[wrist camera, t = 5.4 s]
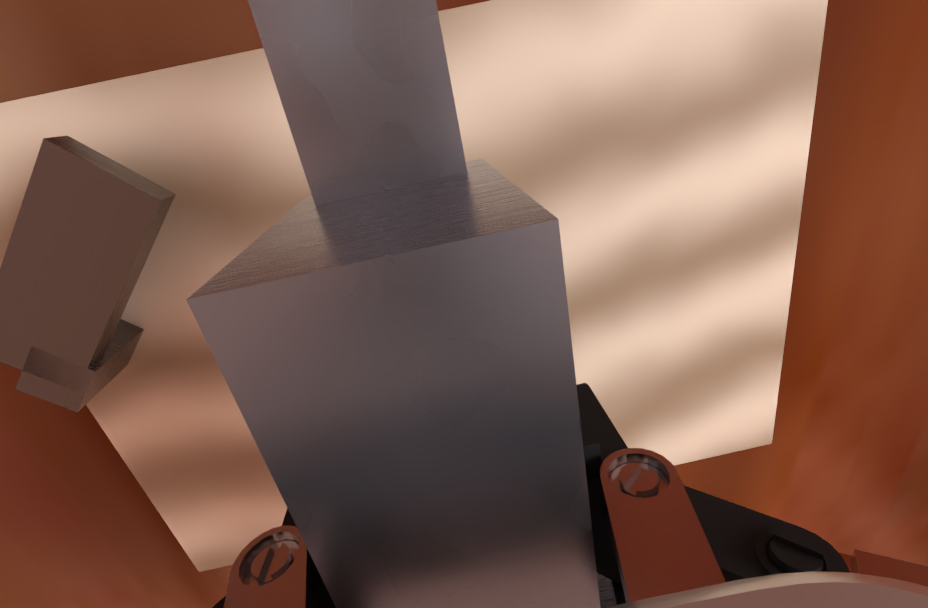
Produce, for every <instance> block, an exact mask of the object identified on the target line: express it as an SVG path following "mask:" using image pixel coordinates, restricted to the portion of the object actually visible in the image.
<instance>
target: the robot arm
mask: <svg viewBox="0 0 928 608" xmlns="http://www.w3.org/2000/svg"><path fill="white" fill-rule="evenodd" d="M576 386H577V395H578V404H579V413H580V422H581V431H582V441H583V450H584V459H585V468H586V477H587V487H588V496H589V505H590V514H591V523H592V533H593V542H594V551H595V560H596V569H597V573H599V574H601V575H602V576H604V577H606V578H608V579H610V585H611V590H612V595H613V599H614V604H615V606H611V607H607V608H928V567H927V566H923V565H919V564H914V563H910V562H906V561H902V560H897V559H893V558H889V557H885V556H880V555H876V554H872V553H867V552H863V551H859V550H855V549H854V551H853V555H852V556H851V555H846V554H842V553H838V552H837V551H836V550H835V549H834V548H833V546H832V545H831V544H829V543H828V542H826V541H825V540H823V539H822V538H821V537H819V536H818V535H816V534H814V533H812V532H810V531H808V530H806V529H803V528H801V527H798V526H796V525H793V524H790V523H787V522H784V521H782V520H779V519H776V518H773V517H770V516H768V515H765V514H762V513H759V512H756V511H754V510H751V509H748V508H745V507H742V506H740V505H737V504H734V503H731V502H728V501H726V500H723V499H720V498H717V497H714V496H712V495H709V494H706V493H703V492H700V491H698V490H695V489H692V488H689V487H686V486H684V485H683V483H682V481H681V479H680V476H679V474H678V472H677V470H676V469H675V467H674V466H673V464H672V463H671V462H670V461H669V460H667V459H666V458H665V457H664V456H662V455H660V454H658V453H656V452H654V451H651V450H647V449H642V448H628V447H627V446H626V444H625V442H624V441H623V439H622V438H621V436H620V434H619V433H618V431H617V430H616V428H615V426H614V425H613V423H612V422H611V420H610V418H609V417H608V415H607V414H606V412H605V410H604V409H603V407H602V406H601V404H600V402H599V401H598V399H597V398H596V396H595V394H594V393H593V391H592V390H591V388H590V386H589V385H588V384H587V383H582V384H577V385H576ZM213 608H336V607H335V605H334V603H333V600H332V598H331V596H330V594H329V592H328V590H327V588H326V586H325V584H324V582H323V580H322V578H321V576H320V574H319V572H318V570H317V568H316V566H315V563H314V561H313V559H312V557H311V555H310V553H309V551H308V549H307V547H306V545H305V543H304V541H303V539H302V537H301V535H300V533H299V531H298V529H297V526H296V524H295V522H294V520H293V518H292V516H291V514H290V512H289V510H288V508H287V511H286V514H285V517H284V520H283V523H282V526H279V527H275V528H272V529H270V530H268V531H266V532H264V533H262V534H260V535H259V536H258V537H256V538H255V539H253V540H252V541H251V542H250V543H249V544H248V545H247V546H246V547H245V548H244V549H243V550H242V551H241V552H240V554H239V555H238V557H237V558H236V560H235V561H234V564H233V567H232V570H231V573H230V578H229V583H228V588H227V593H226V596H225V597H224V598H223V599H222V600H220V601H219V602H218V603H217V604H216V605H215V606H214V607H213Z"/></svg>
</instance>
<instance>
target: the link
mask: <svg viewBox="0 0 928 608" xmlns="http://www.w3.org/2000/svg"><path fill="white" fill-rule="evenodd" d="M248 2H249V5H250V8H251V11H252V14H253V17H254V20H255V23H256V26H257V29H258V32H259V36H260V39H261V42H262V45H263V48H264V51H265V54H266V57H267V60H268V63H269V66H270V69H271V72H272V75H273V78H274V81H275V84H276V87H277V90H278V93H279V96H280V100H281V103H282V106H283V109H284V112H285V115H286V118H287V121H288V124H289V127H290V130H291V133H292V136H293V139H294V142H295V145H296V148H297V151H298V154H299V157H300V161H301V164H302V167H303V170H304V173H305V176H306V179H307V182H308V185H309V188H310V191H311V194H312V195H309V196H307V197H305V198H304V199H303V200H302V201H301V202H300V203H298V204H297V205H296V206H295V207H294V208H293V209H291V210H290V211H289V212H288V213H287V214H286V215H284V216H283V217H282V218H281V219H280V220H279V221H277V222H276V223H275V224H274V225H273V226H272V227H270V228H269V229H268V230H267V231H266V232H265V233H263V234H262V235H261V236H260V237H259V238H258V239H256V240H255V241H254V242H253V243H252V244H251V245H249V246H248V247H247V248H246V249H245V250H244V251H242V252H241V253H240V254H239V255H238V256H237V257H235V258H234V259H233V260H232V261H231V262H230V263H228V264H227V265H226V266H225V267H224V268H223V269H221V270H220V271H219V272H218V273H217V274H215V275H214V276H213V277H212V278H211V279H210V280H208V281H207V282H206V283H205V284H204V285H203V286H201V287H200V288H199V289H198V290H197V291H196V292H194V293H193V294H192V295H191V296H190V297H189V298H187V299H186V300H187V302H188V305H189V307H190V309H191V311H192V313H193V315H194V317H195V319H196V321H197V323H198V325H199V327H200V329H201V331H202V333H203V335H204V337H205V339H206V342H207V344H208V346H209V348H210V350H211V352H212V354H213V356H214V358H215V360H216V362H217V364H218V366H219V368H220V370H221V372H222V374H223V376H224V378H225V381H226V383H227V385H228V387H229V389H230V391H231V393H232V395H233V397H234V399H235V401H236V403H237V405H238V407H239V409H240V411H241V413H242V415H243V418H244V420H245V422H246V424H247V426H248V428H249V430H250V432H251V434H252V436H253V438H254V440H255V442H256V444H257V446H258V448H259V450H260V452H261V455H262V457H263V459H264V461H265V463H266V465H267V467H268V469H269V471H270V473H271V475H272V477H273V479H274V481H275V483H276V485H277V487H278V489H279V492H280V494H281V496H282V498H283V500H284V502H285V504H286V506H287V508H288V510H289V512H290V514H291V516H292V518H293V520H294V522H295V524H296V526H297V529H298V531H299V533H300V535H301V537H302V539H303V541H304V543H305V545H306V547H307V549H308V551H309V553H310V555H311V557H312V559H313V561H314V563H315V566H316V568H317V570H318V572H319V574H320V576H321V578H322V580H323V582H324V584H325V586H326V588H327V590H328V592H329V594H330V596H331V598H332V600H333V603H334V605H335V607H336V608H607V607H611V606H615V604H614V599H613V595H612V590H611V585H610V579H608V578H606V577H604V576H602V575H601V574H599V573H597V569H596V560H595V551H594V542H593V533H592V523H591V514H590V505H589V496H588V487H587V477H586V468H585V459H584V450H583V441H582V431H581V422H580V413H579V404H578V395H577V386H576V376H575V367H574V358H573V349H572V340H571V330H570V321H569V312H568V303H567V294H566V284H565V275H564V266H563V257H562V248H561V239H560V229H559V220H558V218H557V217H555V216H554V215H553V214H551V213H550V212H549V211H548V210H546V209H545V208H544V207H543V206H541V205H540V204H539V203H537V202H536V201H535V200H534V199H532V198H531V197H530V196H529V195H527V194H526V193H525V192H523V191H522V190H521V189H520V188H518V187H517V186H516V185H515V184H513V183H512V182H511V181H510V180H508V179H507V178H506V177H504V176H503V175H502V174H501V173H499V172H498V171H497V170H496V169H494V168H493V167H492V166H490V165H489V164H488V163H487V162H485V161H484V160H483V159H477V160H473V161H468V162H466V161H465V156H464V151H463V145H462V140H461V134H460V129H459V123H458V118H457V113H456V107H455V102H454V96H453V91H452V85H451V80H450V75H449V69H448V64H447V58H446V53H445V47H444V42H443V37H442V31H441V26H440V20H439V15H438V9H437V4H436V0H248Z"/></svg>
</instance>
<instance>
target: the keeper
mask: <svg viewBox="0 0 928 608" xmlns="http://www.w3.org/2000/svg"><path fill="white" fill-rule="evenodd" d="M175 195H176V194H175V193H173V192H171V191H169V190H167V189H166V188H164V187H162V186H160V185H158V184H156V183H154V182H153V181H151V180H149V179H147V178H145V177H143V176H141V175H140V174H138V173H136V172H134V171H132V170H130V169H129V168H127V167H125V166H123V165H121V164H119V163H117V162H116V161H114V160H112V159H110V158H108V157H106V156H104V155H103V154H101V153H99V152H97V151H95V150H93V149H92V148H90V147H88V146H86V145H84V144H82V143H80V142H79V141H77V140H75V139H73V138H71V137H69V136H59V137H51V138H43V141H42V144H41V147H40V150H39V153H38V156H37V159H36V162H35V165H34V168H33V171H32V174H31V177H30V180H29V183H28V186H27V189H26V192H25V195H24V198H23V201H22V204H21V207H20V210H19V213H18V216H17V219H16V222H15V225H14V228H13V231H12V234H11V237H10V240H9V243H8V246H7V249H6V252H5V255H4V258H3V261H2V264H1V267H0V362H1V363H4V364H7V365H9V366H12V367H14V368H17V369H20V370H22V372H21V374H20V377H19V380H18V382H17V385H16V388H15V390H18V391H21V392H23V393H26V394H29V395H32V396H34V397H37V398H40V399H42V400H45V401H48V402H50V403H53V404H56V405H58V406H61V407H64V408H66V409H69V410H72V411H75V412H78V411H80V410H81V409H82V408H83V407H84V406H85V405H86V404H87V403H88V402H89V401H90V400H91V399H92V398H93V397H94V396H95V395H96V394H98V393H99V392H100V391H101V390H102V389H103V388H104V387H105V386H106V385H107V384H108V383H109V382H110V381H111V380H112V379H113V378H114V377H115V376H117V375H118V374H119V373H120V372H121V371H122V370H123V369H124V368H125V367H126V366H127V365H128V363H129V361H130V359H131V356H132V354H133V352H134V350H135V348H136V346H137V344H138V341H139V339H140V337H141V335H142V333H143V331H144V329H142V328H140V327H138V326H136V325H133V324H131V323H129V322H126V321H124V320H122V319H121V317H122V314H123V312H124V310H125V308H126V305H127V303H128V301H129V299H130V296H131V294H132V292H133V290H134V287H135V285H136V283H137V281H138V278H139V276H140V274H141V272H142V269H143V267H144V265H145V263H146V260H147V258H148V256H149V254H150V251H151V249H152V247H153V245H154V242H155V240H156V238H157V236H158V233H159V231H160V229H161V227H162V224H163V222H164V220H165V218H166V215H167V213H168V211H169V209H170V206H171V204H172V202H173V200H174V197H175Z"/></svg>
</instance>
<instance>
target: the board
mask: <svg viewBox="0 0 928 608" xmlns="http://www.w3.org/2000/svg"><path fill="white" fill-rule="evenodd" d="M827 3H828V0H491V1H486V2H481V3H476V4H472V5H467V6H462V7H457V8H453V9H448V10H443V11H438V15H439V20H440V26H441V31H442V37H443V42H444V47H445V53H446V58H447V64H448V69H449V75H450V80H451V85H452V91H453V96H454V102H455V107H456V113H457V118H458V123H459V129H460V134H461V140H462V145H463V151H464V156H465V161H466V162H468V161H473V160H477V159H483V160H484V161H485V162H487V163H488V164H489V165H490V166H492V167H493V168H494V169H496V170H497V171H498V172H499V173H501V174H502V175H503V176H504V177H506V178H507V179H508V180H510V181H511V182H512V183H513V184H515V185H516V186H517V187H518V188H520V189H521V190H522V191H523V192H525V193H526V194H527V195H529V196H530V197H531V198H532V199H534V200H535V201H536V202H537V203H539V204H540V205H541V206H543V207H544V208H545V209H546V210H548V211H549V212H550V213H551V214H553V215H554V216H555V217H557V218H558V220H559V229H560V239H561V248H562V257H563V266H564V275H565V284H566V294H567V303H568V312H569V321H570V330H571V340H572V349H573V358H574V367H575V376H576V385H577V384H582V383H587V384H588V385H589V386H590V388H591V390H592V391H593V393H594V394H595V396H596V398H597V399H598V401H599V402H600V404H601V406H602V407H603V409H604V410H605V412H606V414H607V415H608V417H609V418H610V420H611V422H612V423H613V425H614V426H615V428H616V430H617V431H618V433H619V434H620V436H621V438H622V439H623V441H624V442H625V444H626V446H627V447H628V448H642V449H647V450H651V451H654V452H656V453H658V454H660V455H662V456H664V457H665V458H666V459H667V460H669V461H670V462H671V463H672V464H673V465H678V464H682V463H687V462H691V461H696V460H700V459H705V458H709V457H713V456H718V455H722V454H727V453H731V452H736V451H740V450H745V449H749V448H753V447H758V446H762V445H767V444H771V443H772V438H773V430H774V422H775V414H776V406H777V398H778V390H779V382H780V374H781V366H782V359H783V351H784V343H785V335H786V327H787V319H788V311H789V303H790V295H791V287H792V280H793V272H794V264H795V256H796V248H797V240H798V232H799V224H800V216H801V209H802V201H803V193H804V185H805V177H806V169H807V161H808V153H809V145H810V137H811V130H812V122H813V114H814V106H815V98H816V90H817V82H818V74H819V66H820V58H821V51H822V43H823V35H824V27H825V19H826V11H827ZM59 136H69V137H71V138H73V139H75V140H77V141H79V142H80V143H82V144H84V145H86V146H88V147H90V148H92V149H93V150H95V151H97V152H99V153H101V154H103V155H104V156H106V157H108V158H110V159H112V160H114V161H116V162H117V163H119V164H121V165H123V166H125V167H127V168H129V169H130V170H132V171H134V172H136V173H138V174H140V175H141V176H143V177H145V178H147V179H149V180H151V181H153V182H154V183H156V184H158V185H160V186H162V187H164V188H166V189H167V190H169V191H171V192H173V193H175V194H176V195H175V197H174V200H173V202H172V204H171V206H170V209H169V211H168V213H167V215H166V218H165V220H164V222H163V224H162V227H161V229H160V231H159V233H158V236H157V238H156V240H155V242H154V245H153V247H152V249H151V251H150V254H149V256H148V258H147V260H146V263H145V265H144V267H143V269H142V272H141V274H140V276H139V278H138V281H137V283H136V285H135V287H134V290H133V292H132V294H131V296H130V299H129V301H128V303H127V305H126V308H125V310H124V312H123V314H122V317H121V319H122V320H124V321H126V322H129V323H131V324H133V325H136V326H138V327H140V328H142V329H144V331H143V333H142V335H141V337H140V339H139V341H138V344H137V346H136V348H135V350H134V352H133V354H132V356H131V359H130V361H129V363H128V365H127V366H126V367H125V368H124V369H123V370H122V371H121V372H120V373H119V374H118V375H117V376H115V377H114V378H113V379H112V380H111V381H110V382H109V383H108V384H107V385H106V386H105V387H104V388H103V389H102V390H101V391H100V392H99V393H98V394H96V395H95V396H94V397H93V398H92V399H91V400H90V401H89V402H88V403H87V404H86V406H87V407H88V409H89V410H90V411H91V413H92V414H93V416H94V417H95V419H96V420H97V422H98V423H99V425H100V426H101V428H102V429H103V431H104V432H105V434H106V435H107V437H108V438H109V440H110V441H111V443H112V444H113V446H114V447H115V448H116V450H117V451H118V453H119V454H120V456H121V457H122V459H123V460H124V462H125V463H126V465H127V466H128V468H129V469H130V471H131V472H132V474H133V475H134V477H135V478H136V480H137V481H138V483H139V484H140V485H141V487H142V488H143V490H144V491H145V493H146V494H147V496H148V497H149V499H150V500H151V502H152V503H153V505H154V506H155V508H156V509H157V511H158V512H159V514H160V515H161V517H162V518H163V520H164V521H165V523H166V524H167V525H168V527H169V528H170V530H171V531H172V533H173V534H174V536H175V537H176V539H177V540H178V542H179V543H180V545H181V546H182V548H183V549H184V551H185V552H186V554H187V555H188V557H189V558H190V560H191V561H192V562H193V564H194V565H195V567H196V568H197V570H198V571H199V572H202V571H206V570H211V569H215V568H220V567H224V566H229V565H233V564H234V561H235V560H236V558H237V557H238V555H239V554H240V552H241V551H242V550H243V549H244V548H245V547H246V546H247V545H248V544H249V543H250V542H251V541H252V540H253V539H255V538H256V537H258V536H259V535H260V534H262V533H264V532H266V531H268V530H270V529H272V528H275V527H279V526H282V523H283V520H284V517H285V514H286V511H287V506H286V504H285V502H284V500H283V498H282V496H281V494H280V492H279V489H278V487H277V485H276V483H275V481H274V479H273V477H272V475H271V473H270V471H269V469H268V467H267V465H266V463H265V461H264V459H263V457H262V455H261V452H260V450H259V448H258V446H257V444H256V442H255V440H254V438H253V436H252V434H251V432H250V430H249V428H248V426H247V424H246V422H245V420H244V418H243V415H242V413H241V411H240V409H239V407H238V405H237V403H236V401H235V399H234V397H233V395H232V393H231V391H230V389H229V387H228V385H227V383H226V381H225V378H224V376H223V374H222V372H221V370H220V368H219V366H218V364H217V362H216V360H215V358H214V356H213V354H212V352H211V350H210V348H209V346H208V344H207V342H206V339H205V337H204V335H203V333H202V331H201V329H200V327H199V325H198V323H197V321H196V319H195V317H194V315H193V313H192V311H191V309H190V307H189V305H188V302H187V300H186V299H187V298H189V297H190V296H191V295H192V294H193V293H194V292H196V291H197V290H198V289H199V288H200V287H201V286H203V285H204V284H205V283H206V282H207V281H208V280H210V279H211V278H212V277H213V276H214V275H215V274H217V273H218V272H219V271H220V270H221V269H223V268H224V267H225V266H226V265H227V264H228V263H230V262H231V261H232V260H233V259H234V258H235V257H237V256H238V255H239V254H240V253H241V252H242V251H244V250H245V249H246V248H247V247H248V246H249V245H251V244H252V243H253V242H254V241H255V240H256V239H258V238H259V237H260V236H261V235H262V234H263V233H265V232H266V231H267V230H268V229H269V228H270V227H272V226H273V225H274V224H275V223H276V222H277V221H279V220H280V219H281V218H282V217H283V216H284V215H286V214H287V213H288V212H289V211H290V210H291V209H293V208H294V207H295V206H296V205H297V204H298V203H300V202H301V201H302V200H303V199H304V198H305V197H307V196H309V195H312V194H311V191H310V188H309V185H308V182H307V179H306V176H305V173H304V170H303V167H302V164H301V161H300V157H299V154H298V151H297V148H296V145H295V142H294V139H293V136H292V133H291V130H290V127H289V124H288V121H287V118H286V115H285V112H284V109H283V106H282V103H281V100H280V96H279V93H278V90H277V87H276V84H275V81H274V78H273V75H272V72H271V69H270V66H269V63H268V60H267V57H266V54H265V51H264V48H261V49H257V50H252V51H247V52H242V53H237V54H233V55H228V56H223V57H218V58H214V59H209V60H204V61H199V62H194V63H190V64H185V65H180V66H175V67H171V68H166V69H161V70H156V71H151V72H147V73H142V74H137V75H132V76H128V77H123V78H118V79H113V80H108V81H104V82H99V83H94V84H89V85H85V86H80V87H75V88H70V89H65V90H61V91H56V92H51V93H46V94H42V95H37V96H32V97H27V98H22V99H18V100H13V101H8V102H3V103H0V267H1V264H2V261H3V258H4V255H5V252H6V249H7V246H8V243H9V240H10V237H11V234H12V231H13V228H14V225H15V222H16V219H17V216H18V213H19V210H20V207H21V204H22V201H23V198H24V195H25V192H26V189H27V186H28V183H29V180H30V177H31V174H32V171H33V168H34V165H35V162H36V159H37V156H38V153H39V150H40V147H41V144H42V141H43V138H51V137H59Z"/></svg>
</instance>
